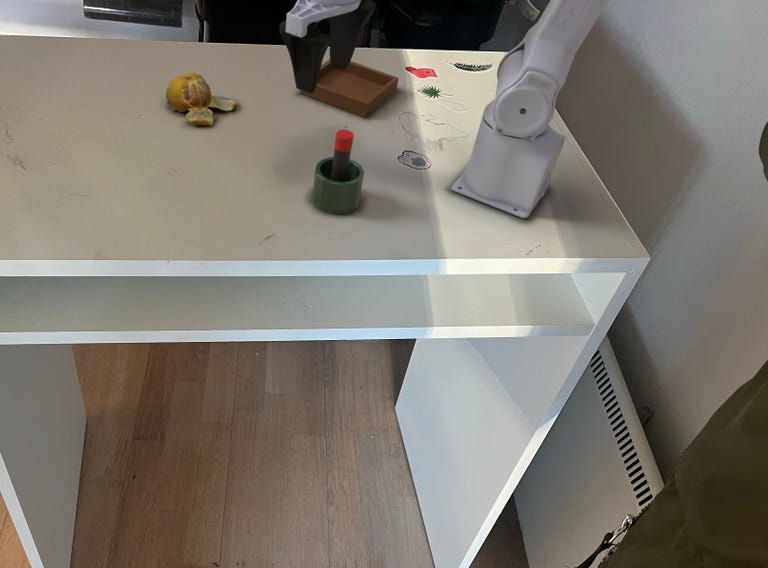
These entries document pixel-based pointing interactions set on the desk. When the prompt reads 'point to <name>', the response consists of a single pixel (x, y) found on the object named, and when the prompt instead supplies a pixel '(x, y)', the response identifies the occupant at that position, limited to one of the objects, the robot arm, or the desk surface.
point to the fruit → (195, 98)
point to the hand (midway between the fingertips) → (322, 77)
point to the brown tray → (353, 87)
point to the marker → (341, 155)
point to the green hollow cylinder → (337, 188)
